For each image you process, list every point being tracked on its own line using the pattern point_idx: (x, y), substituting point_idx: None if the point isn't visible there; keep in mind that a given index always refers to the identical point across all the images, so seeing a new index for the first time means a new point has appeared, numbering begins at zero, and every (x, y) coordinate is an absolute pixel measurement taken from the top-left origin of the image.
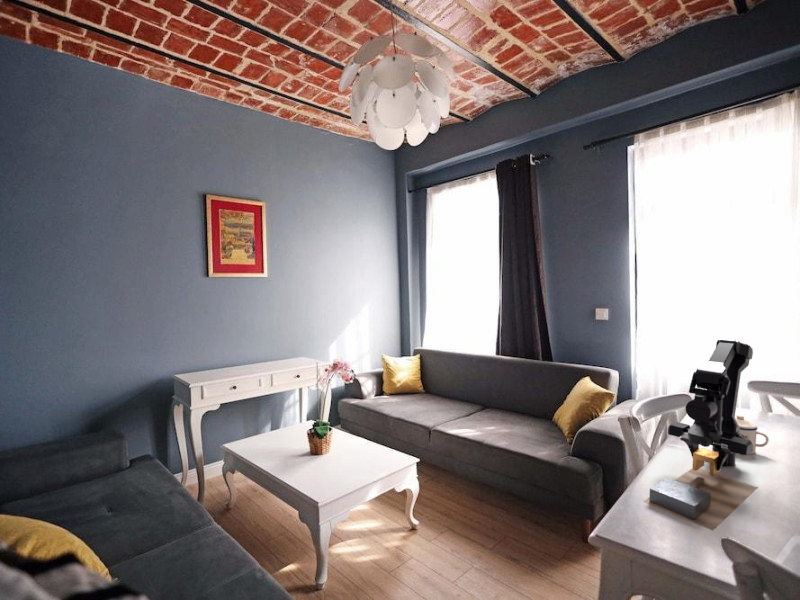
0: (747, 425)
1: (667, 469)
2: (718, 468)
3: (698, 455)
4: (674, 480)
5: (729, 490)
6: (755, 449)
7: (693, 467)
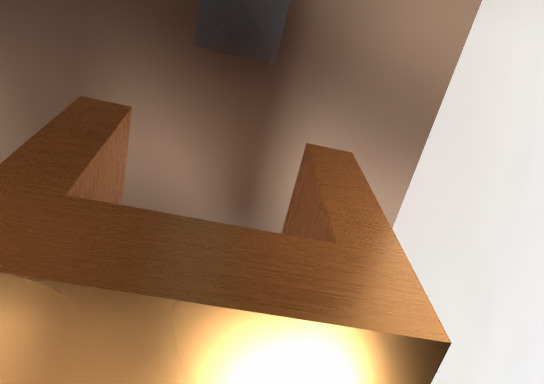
0: None
1: (531, 252)
2: None
3: (315, 302)
4: None
5: None
6: None
7: (348, 166)
